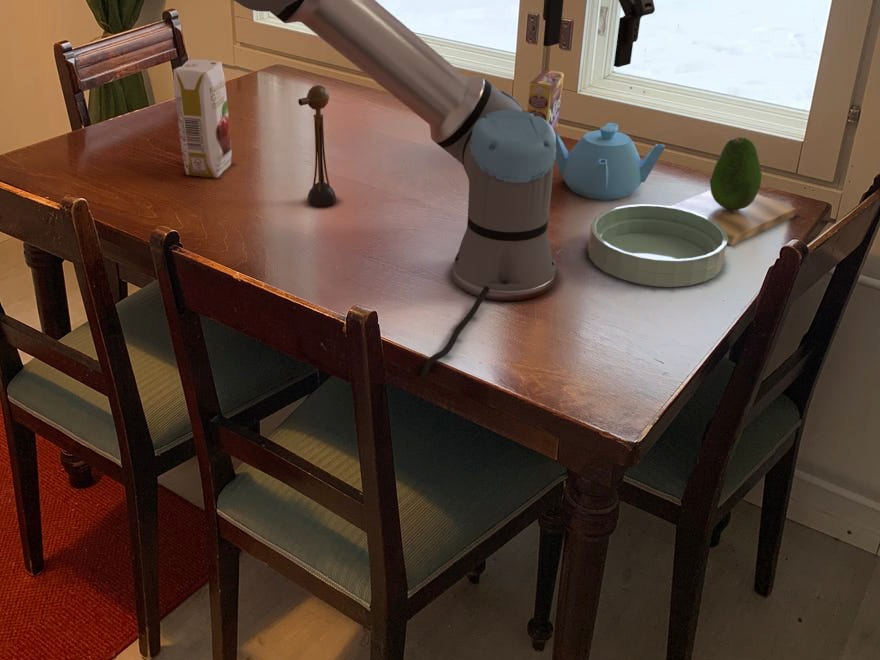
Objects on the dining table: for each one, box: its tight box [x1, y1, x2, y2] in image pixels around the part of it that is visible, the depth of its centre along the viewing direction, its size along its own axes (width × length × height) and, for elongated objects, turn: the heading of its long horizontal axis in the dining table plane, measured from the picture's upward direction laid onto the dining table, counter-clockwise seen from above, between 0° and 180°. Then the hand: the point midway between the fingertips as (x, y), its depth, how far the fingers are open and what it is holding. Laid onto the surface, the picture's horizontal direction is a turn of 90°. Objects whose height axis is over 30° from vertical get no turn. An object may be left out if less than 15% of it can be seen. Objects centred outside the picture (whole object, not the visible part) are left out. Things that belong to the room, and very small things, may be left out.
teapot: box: [555, 122, 666, 201], centre depth 176 cm, size 15×15×11 cm
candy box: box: [526, 69, 565, 135], centre depth 186 cm, size 9×4×15 cm, turn 157°
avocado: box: [709, 136, 762, 210], centre depth 165 cm, size 8×8×12 cm
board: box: [669, 189, 797, 246], centre depth 169 cm, size 18×14×2 cm
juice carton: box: [172, 58, 233, 179], centre depth 179 cm, size 8×9×19 cm
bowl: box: [587, 203, 728, 288], centre depth 155 cm, size 20×20×4 cm
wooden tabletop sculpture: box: [298, 84, 337, 209], centre depth 167 cm, size 6×5×20 cm
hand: (585, 54), depth 146 cm, fingers open, 13 cm apart
